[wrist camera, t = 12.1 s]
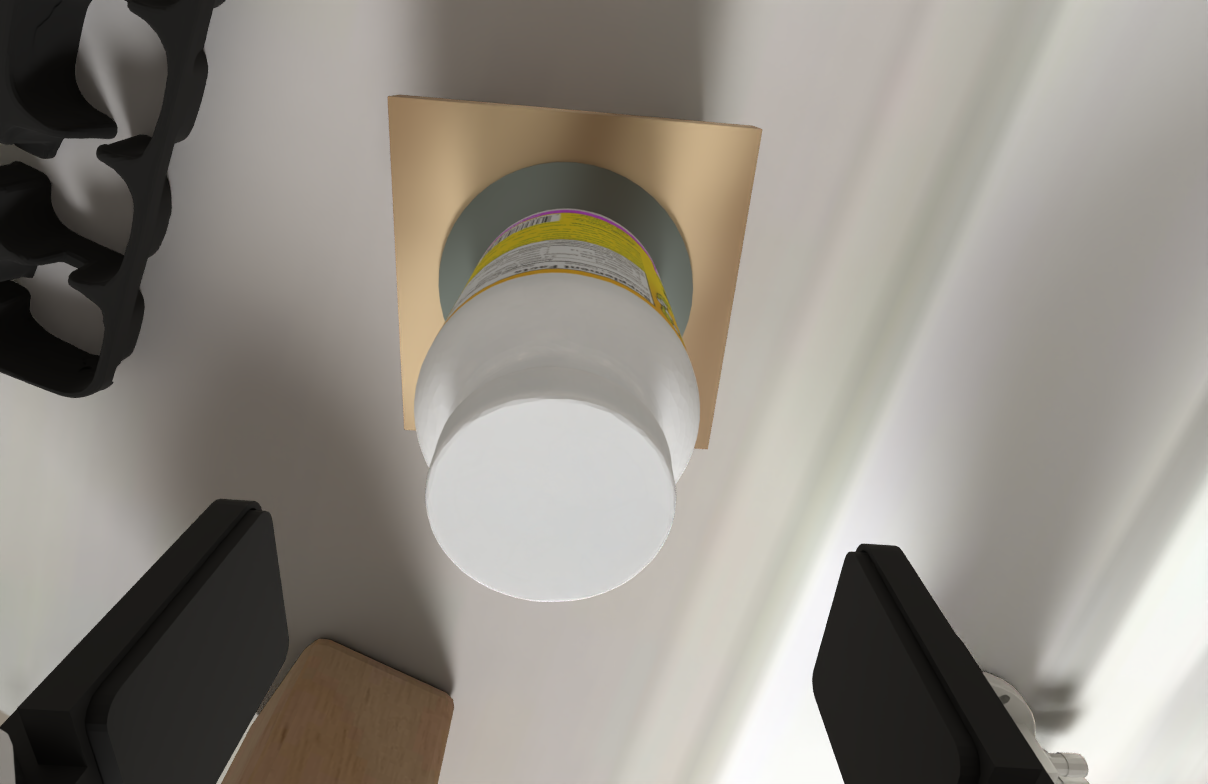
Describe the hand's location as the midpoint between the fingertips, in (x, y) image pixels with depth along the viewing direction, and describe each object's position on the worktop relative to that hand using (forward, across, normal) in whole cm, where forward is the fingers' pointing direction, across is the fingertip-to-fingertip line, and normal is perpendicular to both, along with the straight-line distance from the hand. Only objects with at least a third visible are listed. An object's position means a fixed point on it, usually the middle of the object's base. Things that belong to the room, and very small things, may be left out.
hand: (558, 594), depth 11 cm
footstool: (+22, +1, -1) cm, 22 cm away
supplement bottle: (+15, +1, -1) cm, 15 cm away
